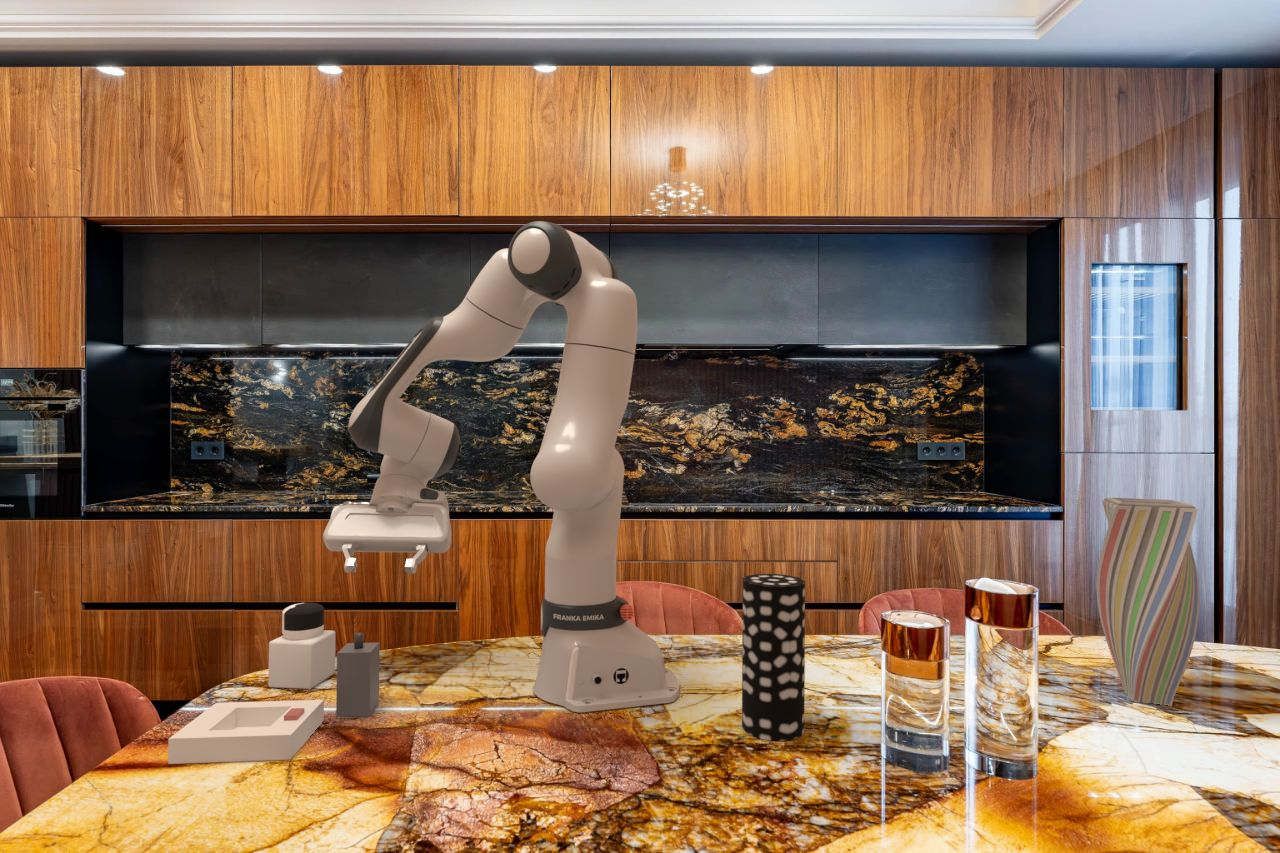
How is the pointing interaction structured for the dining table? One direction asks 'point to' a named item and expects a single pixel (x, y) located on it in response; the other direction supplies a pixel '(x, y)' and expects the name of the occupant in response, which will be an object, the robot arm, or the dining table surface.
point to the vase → (1148, 594)
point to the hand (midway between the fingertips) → (379, 571)
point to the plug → (357, 678)
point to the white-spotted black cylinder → (773, 656)
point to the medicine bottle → (302, 649)
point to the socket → (246, 732)
